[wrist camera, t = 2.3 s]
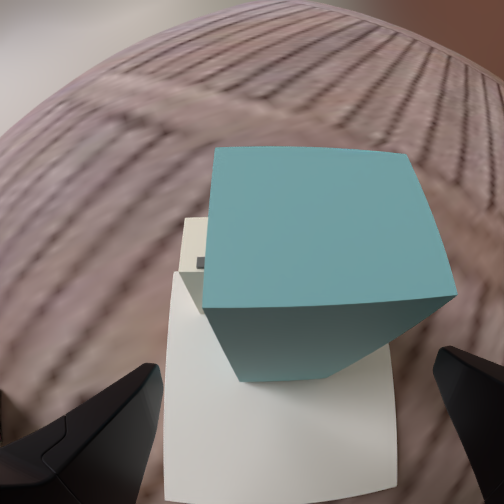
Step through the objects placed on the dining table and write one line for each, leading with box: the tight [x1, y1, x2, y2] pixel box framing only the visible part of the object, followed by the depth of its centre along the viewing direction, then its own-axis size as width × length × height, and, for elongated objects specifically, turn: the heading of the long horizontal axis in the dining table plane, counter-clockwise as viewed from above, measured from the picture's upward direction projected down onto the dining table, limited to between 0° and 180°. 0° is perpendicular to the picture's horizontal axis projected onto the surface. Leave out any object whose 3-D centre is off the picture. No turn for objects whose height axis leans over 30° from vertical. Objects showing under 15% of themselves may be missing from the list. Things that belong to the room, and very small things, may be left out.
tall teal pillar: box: [202, 146, 458, 382], centre depth 12 cm, size 4×5×13 cm
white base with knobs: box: [164, 217, 397, 504], centre depth 14 cm, size 15×14×7 cm
